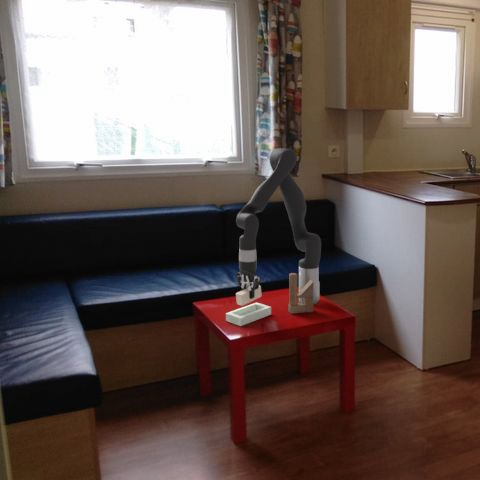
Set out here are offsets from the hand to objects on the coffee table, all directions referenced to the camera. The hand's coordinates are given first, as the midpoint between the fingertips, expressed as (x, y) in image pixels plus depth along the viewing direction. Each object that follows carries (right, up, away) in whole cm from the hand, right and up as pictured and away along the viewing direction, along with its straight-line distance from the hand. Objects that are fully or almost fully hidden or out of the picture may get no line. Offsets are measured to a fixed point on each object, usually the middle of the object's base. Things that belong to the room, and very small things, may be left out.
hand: (248, 297), depth 231 cm
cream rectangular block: (0, -1, +1) cm, 2 cm away
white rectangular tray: (0, -9, +2) cm, 9 cm away
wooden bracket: (+24, -8, +8) cm, 26 cm away
